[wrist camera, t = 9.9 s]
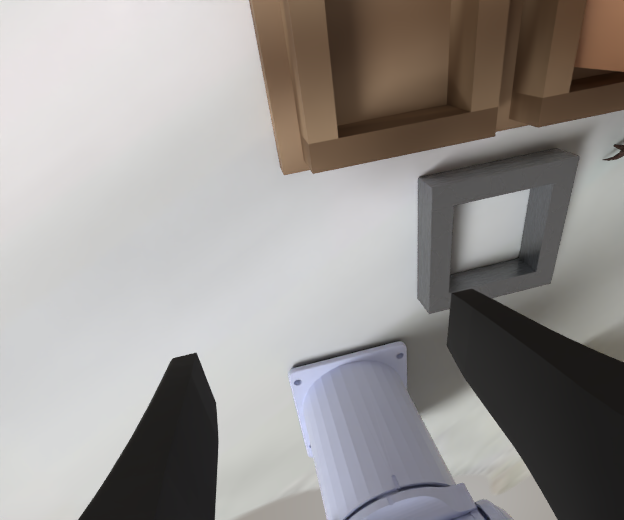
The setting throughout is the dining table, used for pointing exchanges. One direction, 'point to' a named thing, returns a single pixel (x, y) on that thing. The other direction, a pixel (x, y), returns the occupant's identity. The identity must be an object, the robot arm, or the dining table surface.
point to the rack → (419, 74)
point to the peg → (602, 36)
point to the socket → (484, 184)
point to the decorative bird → (620, 154)
